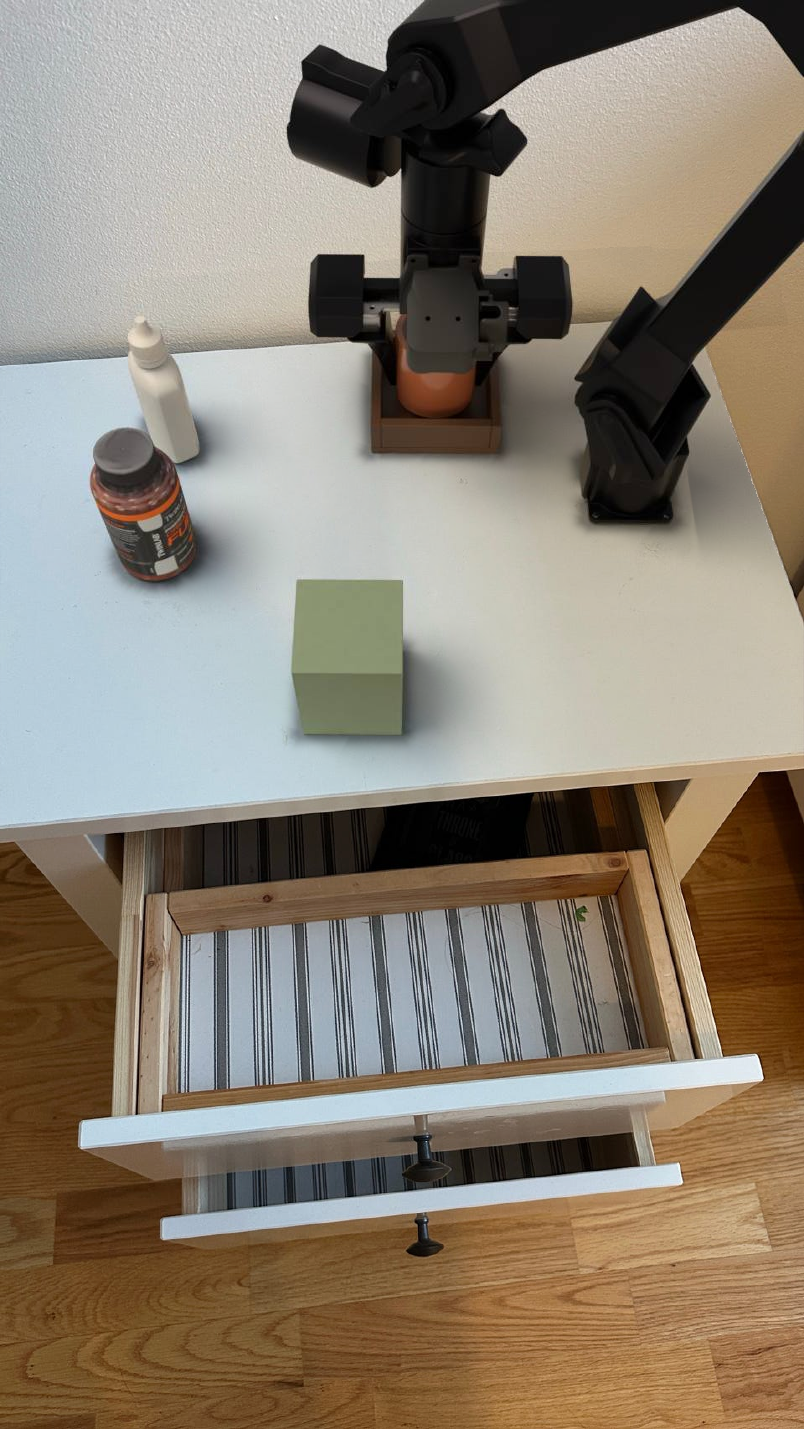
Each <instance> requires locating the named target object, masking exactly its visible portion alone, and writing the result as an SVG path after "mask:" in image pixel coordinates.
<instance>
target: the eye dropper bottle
mask: <svg viewBox="0 0 804 1429" xmlns="http://www.w3.org/2000/svg"><path fill="white" fill-rule="evenodd" d="M164 340H165V339H164V337H163V333H162V331H161V329H160V328H159V327H158V326H156V325H154V324H151V323H148V322H147V320H146V318H145V317H144V316H142V315H139V316H136V317H135V319H134V327H133V328H131V329H130V330H129V332H128V334H127V341H128V346H129V348H130V349H129V351H128V353H127V354H128V355H127V366H128V371H129V374H130V378H131V381H132V383H133V384H132V385H133V387H134V390H135V394H136V396H137V399H138V400H137V401H138V403H139V405H140V409H141V412H142V415H143V418H144V421H145V424H146V427H147V431H148V434H149V437H150V438H151V440H152V442H153V444H154V447H156V448H158V449H160V450H162V451H163V452H164V453H166V454H167V456H169V457H170V459H171V460H172V461H173V463H174V464H180V463H183V462H186V461H187V460H190V459H193V458H194V457H197V456H198V455H199V453H200V441H199V436H198V432H197V429H196V425H195V422H194V417H193V413H192V410H191V406H190V402H189V398H188V394H187V390H186V387H185V383H184V379H183V376H182V372H181V370H180V367H179V365H178V363H177V360H175V358H174V356H173V355H172V354H171V353H170V352H169V351H168V350H167V348H166V344H165V341H164Z"/></svg>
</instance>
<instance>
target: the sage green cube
mask: <svg viewBox="0 0 804 1429" xmlns="http://www.w3.org/2000/svg"><path fill="white" fill-rule="evenodd" d="M295 582H296V583H295V598H294V599H295V600H294V616H293V634H292V651H291V666H290V667H291V669H290V674H291V679H292V683H293V688H294V694H295V699H296V704H297V710H298V714H299V720H300V724H301V729H302V733H303V735H355V736H356V735H360V736H361V735H363V736H365V735H367V736H368V735H375V736H377V735H378V736H383V735H386V736H391V735H392V736H393V735H394V736H400V735H401V736H402V734H403V688H404V686H403V685H404V684H403V683H404V677H403V676H404V580H403V579H313V578H312V579H307V578H305V579H304V578H303V579H300V578H299V579H296V581H295Z"/></svg>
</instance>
